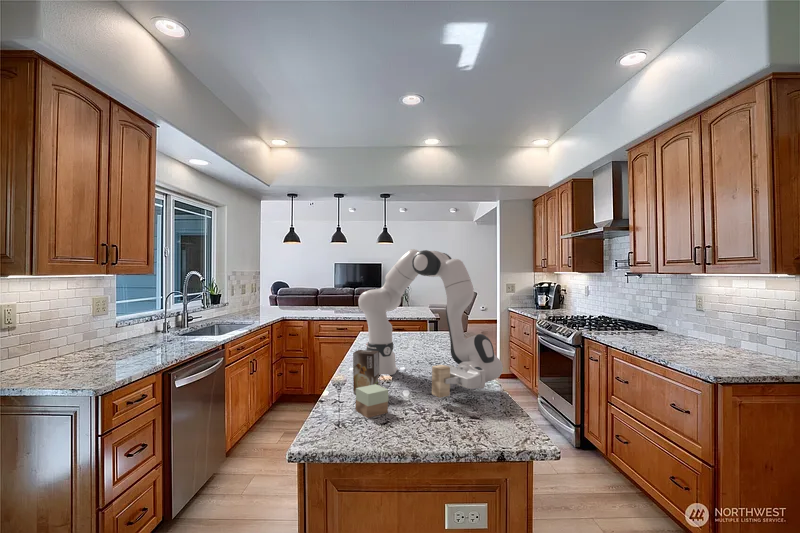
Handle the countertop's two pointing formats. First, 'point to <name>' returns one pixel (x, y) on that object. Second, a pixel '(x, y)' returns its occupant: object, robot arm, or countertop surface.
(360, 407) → the block bottom
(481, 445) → the countertop surface
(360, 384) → the coffee box
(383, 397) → the block top
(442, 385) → the pillar
